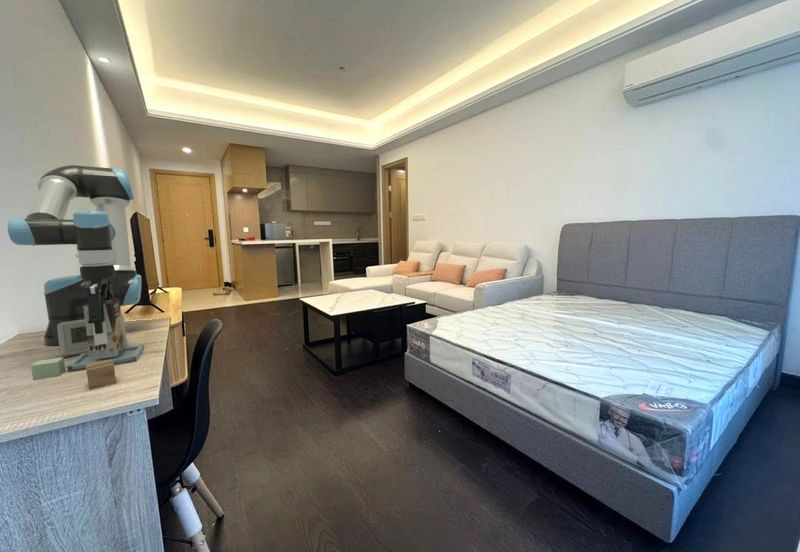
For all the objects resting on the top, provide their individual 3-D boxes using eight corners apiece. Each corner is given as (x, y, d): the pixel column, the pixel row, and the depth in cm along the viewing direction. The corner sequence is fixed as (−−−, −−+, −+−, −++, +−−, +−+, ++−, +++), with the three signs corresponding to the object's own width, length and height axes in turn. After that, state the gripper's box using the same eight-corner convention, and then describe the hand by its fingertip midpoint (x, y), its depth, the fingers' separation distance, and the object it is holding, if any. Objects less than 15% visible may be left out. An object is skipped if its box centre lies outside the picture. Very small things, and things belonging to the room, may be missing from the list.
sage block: (40, 374, 89) (38, 360, 88) (65, 370, 91) (63, 357, 91) (33, 380, 85) (31, 365, 85) (59, 376, 88) (57, 361, 87)
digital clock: (56, 359, 100) (52, 325, 98) (66, 351, 107) (62, 319, 106) (125, 349, 108) (121, 318, 107) (130, 342, 116) (126, 312, 114)
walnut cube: (88, 383, 83) (86, 364, 82) (114, 377, 86) (112, 359, 86) (89, 389, 79) (86, 370, 79) (116, 383, 83) (113, 364, 82)
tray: (82, 358, 100) (82, 353, 100) (143, 349, 108) (143, 344, 107) (67, 372, 90) (66, 366, 90) (136, 361, 97) (135, 356, 97)
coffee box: (118, 356, 96) (111, 303, 94) (89, 360, 93) (81, 305, 91) (125, 347, 104) (119, 298, 102) (99, 351, 101) (92, 300, 99)
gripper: (92, 263, 103) (101, 332, 106) (64, 268, 84) (76, 352, 87) (122, 261, 106) (130, 328, 109) (103, 267, 88) (112, 347, 90)
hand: (106, 339), depth 98 cm, fingers closed on coffee box, 9 cm apart
